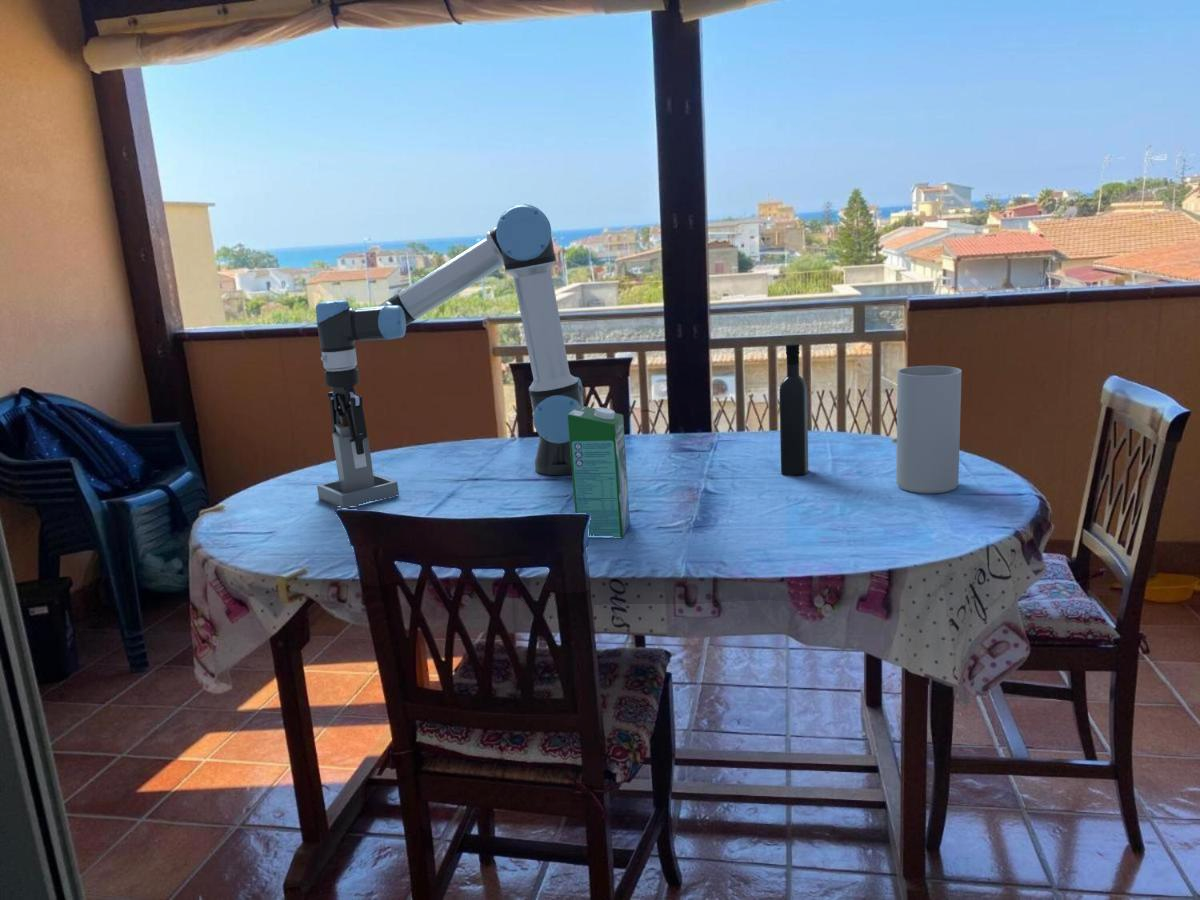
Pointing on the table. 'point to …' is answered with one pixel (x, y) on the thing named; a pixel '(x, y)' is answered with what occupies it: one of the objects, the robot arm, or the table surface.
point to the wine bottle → (793, 417)
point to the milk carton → (599, 469)
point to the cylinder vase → (928, 428)
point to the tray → (357, 492)
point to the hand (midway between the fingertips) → (354, 464)
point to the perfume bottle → (351, 460)
